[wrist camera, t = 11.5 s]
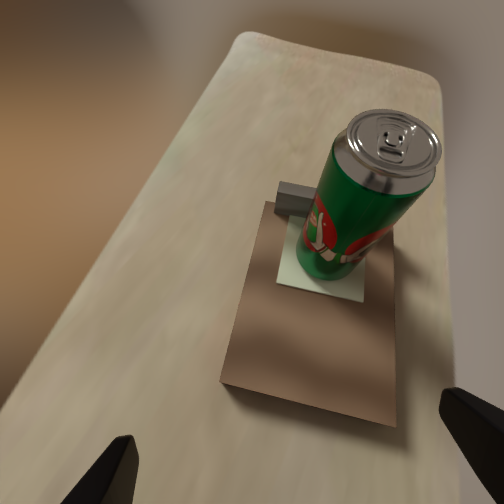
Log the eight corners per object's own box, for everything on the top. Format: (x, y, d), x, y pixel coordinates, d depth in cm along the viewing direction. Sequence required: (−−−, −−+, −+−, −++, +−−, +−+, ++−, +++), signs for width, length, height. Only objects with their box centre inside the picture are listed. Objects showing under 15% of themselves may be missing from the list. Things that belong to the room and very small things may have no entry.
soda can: (358, 240, 24) (451, 117, 13) (348, 292, 22) (451, 194, 11) (302, 223, 24) (349, 93, 14) (287, 271, 22) (328, 161, 12)
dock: (382, 424, 19) (423, 434, 15) (221, 382, 20) (214, 380, 16) (383, 237, 27) (411, 206, 22) (264, 213, 28) (268, 178, 23)
